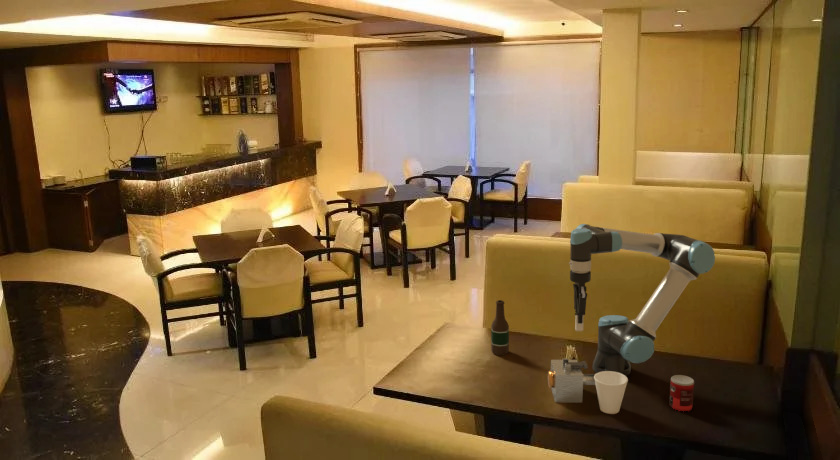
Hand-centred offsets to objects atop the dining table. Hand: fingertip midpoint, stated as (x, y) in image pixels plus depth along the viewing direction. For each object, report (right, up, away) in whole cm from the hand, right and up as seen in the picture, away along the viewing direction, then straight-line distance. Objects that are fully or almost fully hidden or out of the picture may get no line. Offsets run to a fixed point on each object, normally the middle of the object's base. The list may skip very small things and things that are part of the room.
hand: (579, 330), depth 252 cm
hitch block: (-4, -25, +4) cm, 26 cm away
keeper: (-1, -14, +1) cm, 14 cm away
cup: (+9, -28, -9) cm, 31 cm away
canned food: (+35, -27, -9) cm, 45 cm away
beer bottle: (-25, -17, +44) cm, 53 cm away
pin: (-2, -22, +3) cm, 23 cm away
